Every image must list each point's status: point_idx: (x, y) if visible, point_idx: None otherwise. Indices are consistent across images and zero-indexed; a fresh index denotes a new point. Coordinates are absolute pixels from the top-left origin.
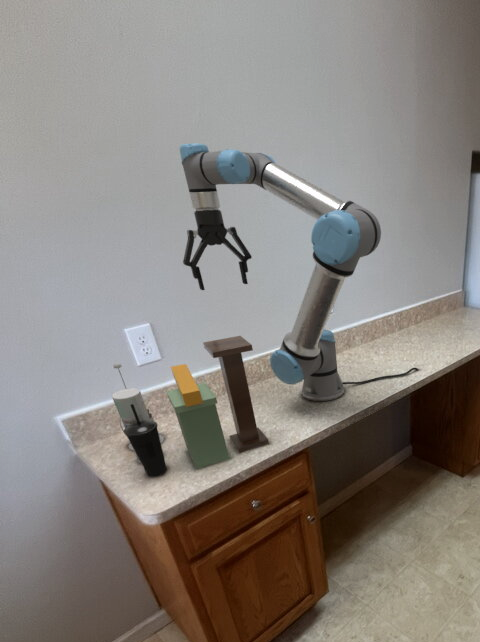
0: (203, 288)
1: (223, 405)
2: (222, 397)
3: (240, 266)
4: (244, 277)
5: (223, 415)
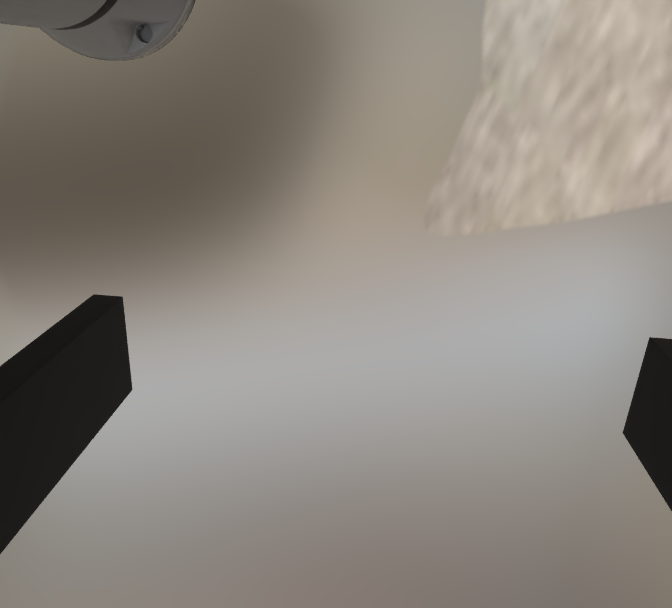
0: (669, 347)
1: (505, 140)
2: (473, 221)
3: (8, 484)
4: (78, 332)
5: (550, 38)
